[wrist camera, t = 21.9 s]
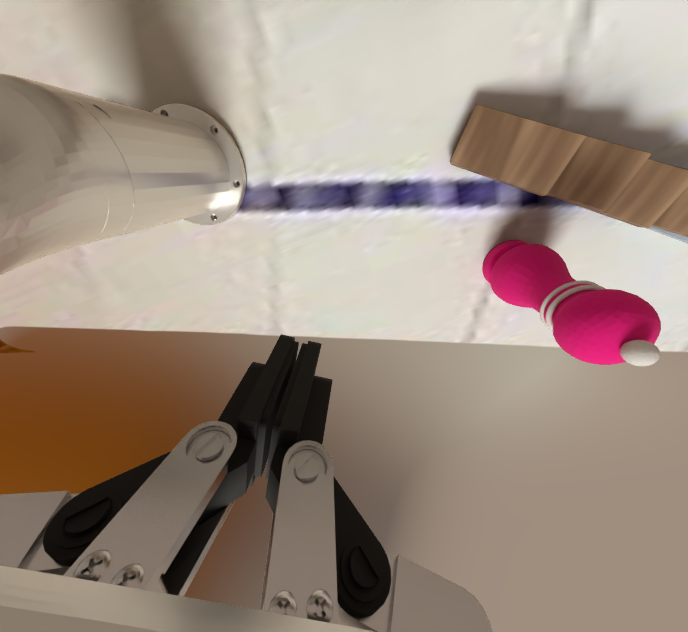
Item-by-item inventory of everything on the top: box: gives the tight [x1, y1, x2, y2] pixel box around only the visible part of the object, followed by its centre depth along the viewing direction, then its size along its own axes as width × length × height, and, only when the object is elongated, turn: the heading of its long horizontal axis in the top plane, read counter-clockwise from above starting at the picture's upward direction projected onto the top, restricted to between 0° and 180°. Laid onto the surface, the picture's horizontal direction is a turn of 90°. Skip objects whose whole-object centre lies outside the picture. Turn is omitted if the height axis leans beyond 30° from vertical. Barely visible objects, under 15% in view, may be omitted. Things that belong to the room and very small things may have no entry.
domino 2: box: [547, 136, 652, 211], centre depth 26 cm, size 2×5×10 cm
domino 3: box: [548, 159, 688, 228], centre depth 26 cm, size 2×5×10 cm
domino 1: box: [450, 104, 586, 196], centre depth 26 cm, size 2×5×10 cm
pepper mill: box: [483, 240, 661, 366], centre depth 25 cm, size 7×7×20 cm
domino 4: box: [652, 166, 688, 237], centre depth 26 cm, size 2×5×10 cm
